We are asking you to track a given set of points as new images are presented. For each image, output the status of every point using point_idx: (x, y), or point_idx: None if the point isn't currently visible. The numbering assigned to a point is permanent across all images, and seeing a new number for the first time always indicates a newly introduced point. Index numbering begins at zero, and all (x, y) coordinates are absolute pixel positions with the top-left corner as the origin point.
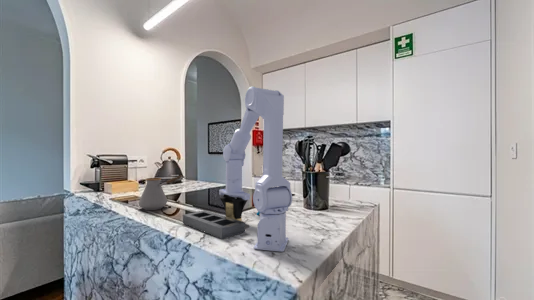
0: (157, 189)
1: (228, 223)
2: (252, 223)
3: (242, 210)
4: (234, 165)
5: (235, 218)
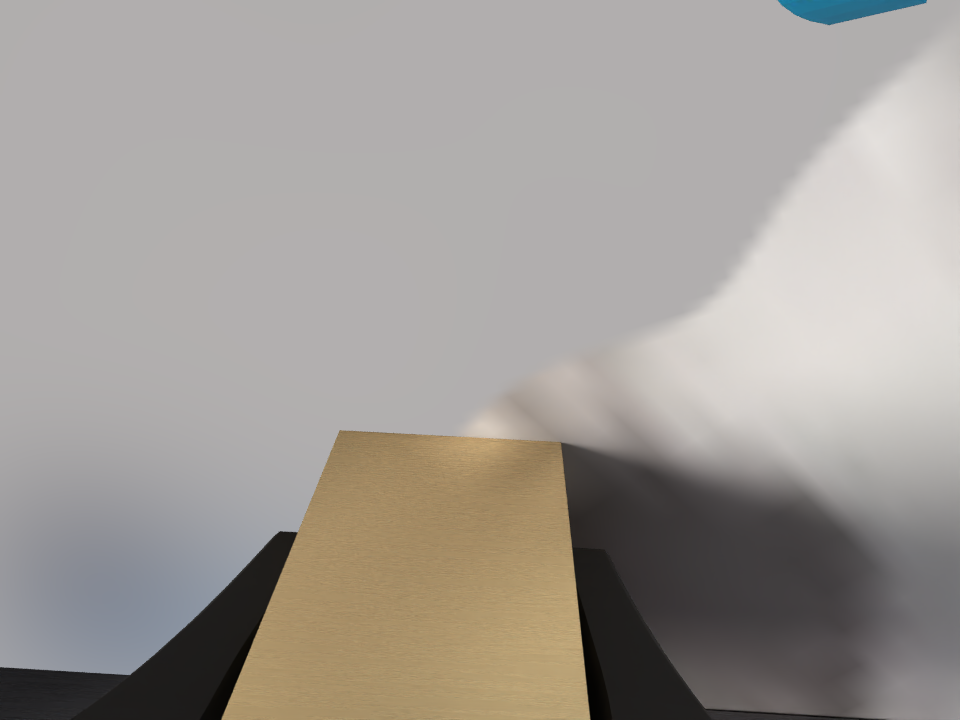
0: None
1: None
2: (808, 381)
3: (670, 674)
4: None
5: None
